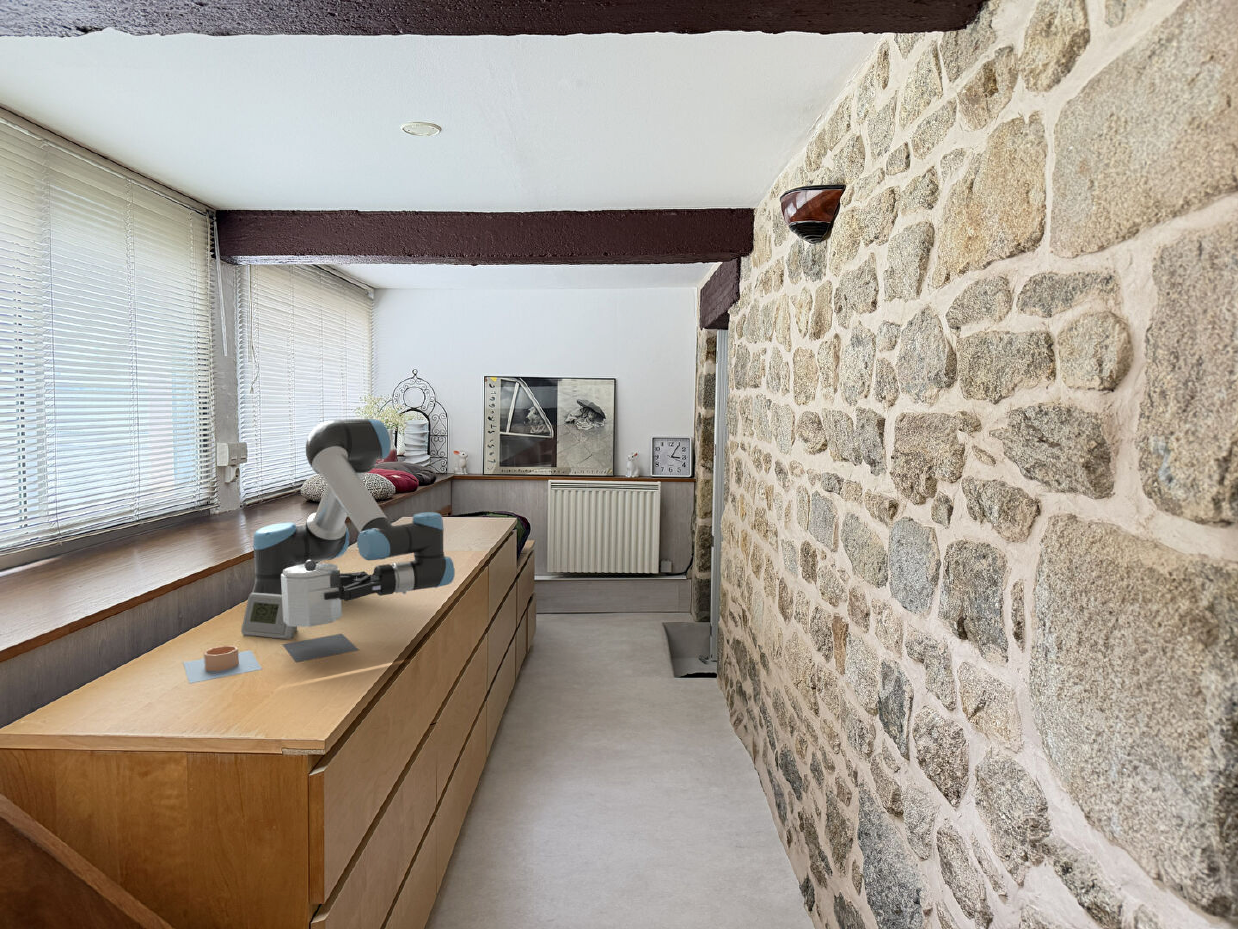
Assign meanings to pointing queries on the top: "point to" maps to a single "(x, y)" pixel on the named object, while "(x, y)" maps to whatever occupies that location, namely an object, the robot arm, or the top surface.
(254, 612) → the digital clock
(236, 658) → the terracotta bowl
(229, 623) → the top surface
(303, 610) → the steel canister
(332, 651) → the black mat
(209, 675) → the blue board
